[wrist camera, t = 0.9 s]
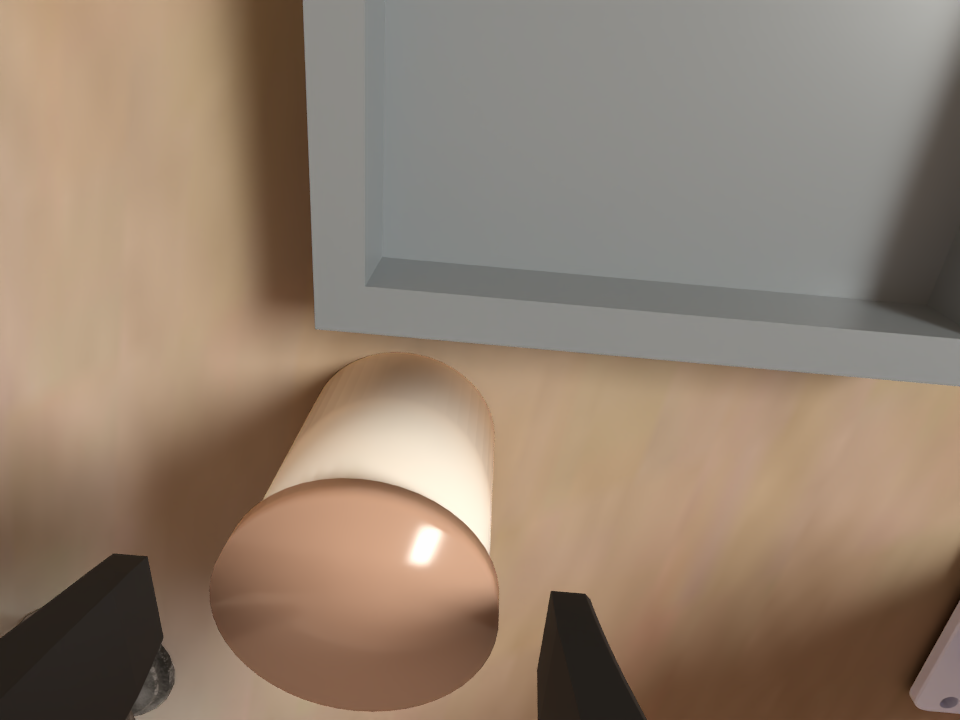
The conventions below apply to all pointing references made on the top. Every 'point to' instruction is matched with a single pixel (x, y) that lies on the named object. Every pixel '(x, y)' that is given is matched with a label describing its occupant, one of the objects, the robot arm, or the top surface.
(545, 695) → the robot arm
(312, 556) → the cup
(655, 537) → the top surface
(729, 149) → the tray
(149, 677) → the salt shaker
